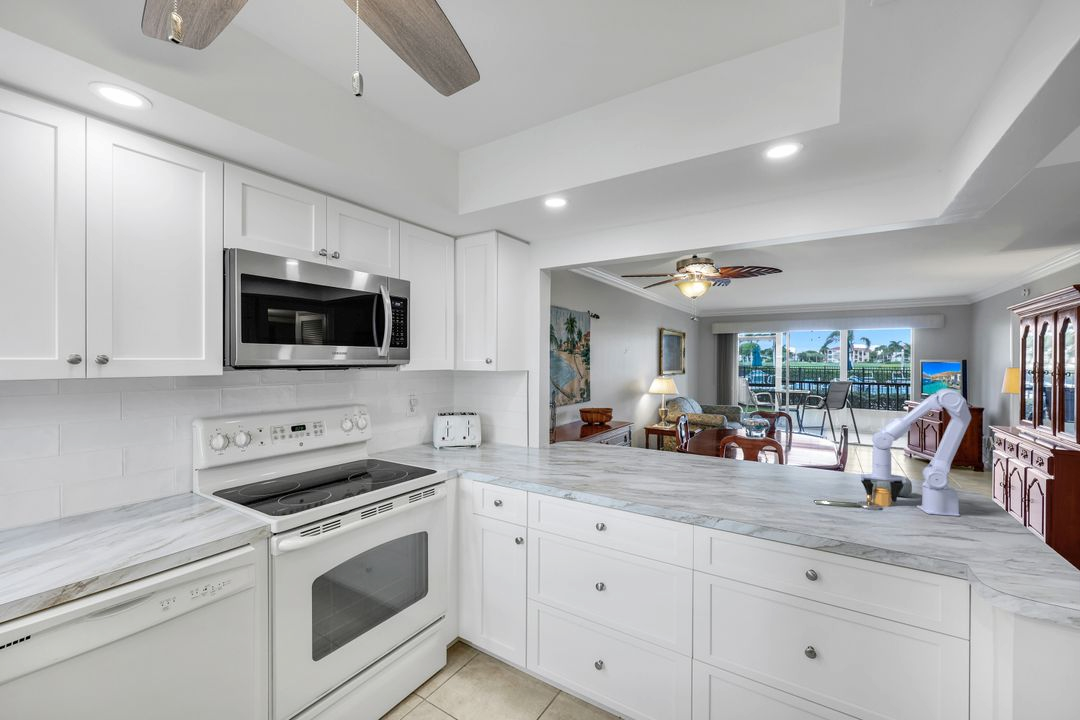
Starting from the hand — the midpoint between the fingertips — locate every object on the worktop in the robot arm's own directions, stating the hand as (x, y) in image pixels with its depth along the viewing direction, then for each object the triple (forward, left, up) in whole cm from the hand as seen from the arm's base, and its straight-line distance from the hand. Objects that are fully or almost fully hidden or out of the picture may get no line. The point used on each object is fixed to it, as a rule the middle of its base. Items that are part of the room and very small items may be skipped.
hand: (881, 500), depth 173 cm
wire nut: (0, 0, -1) cm, 1 cm away
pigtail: (+13, +5, -1) cm, 14 cm away
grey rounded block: (-8, -14, -2) cm, 16 cm away
